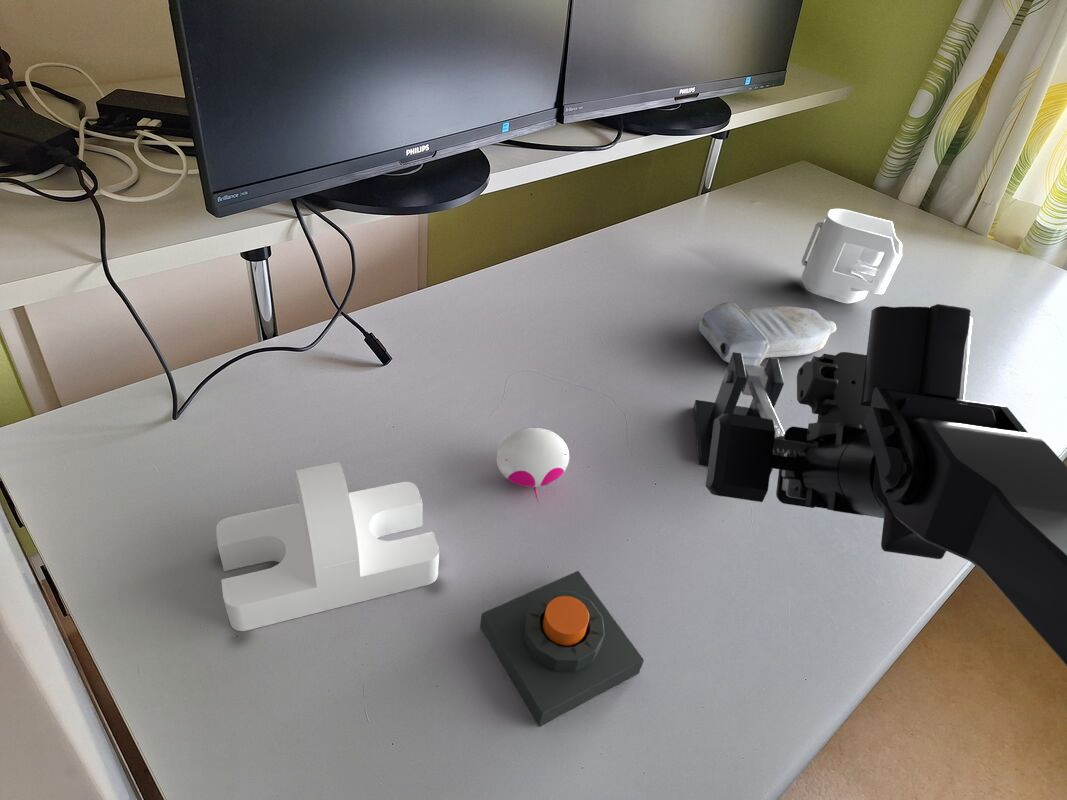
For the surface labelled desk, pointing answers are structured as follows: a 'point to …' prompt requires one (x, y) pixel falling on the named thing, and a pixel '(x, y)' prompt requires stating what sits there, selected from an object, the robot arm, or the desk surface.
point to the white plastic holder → (850, 256)
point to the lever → (761, 396)
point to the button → (565, 620)
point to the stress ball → (533, 457)
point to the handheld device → (764, 331)
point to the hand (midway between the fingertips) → (796, 468)
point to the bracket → (732, 401)
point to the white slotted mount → (324, 550)
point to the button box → (559, 650)
